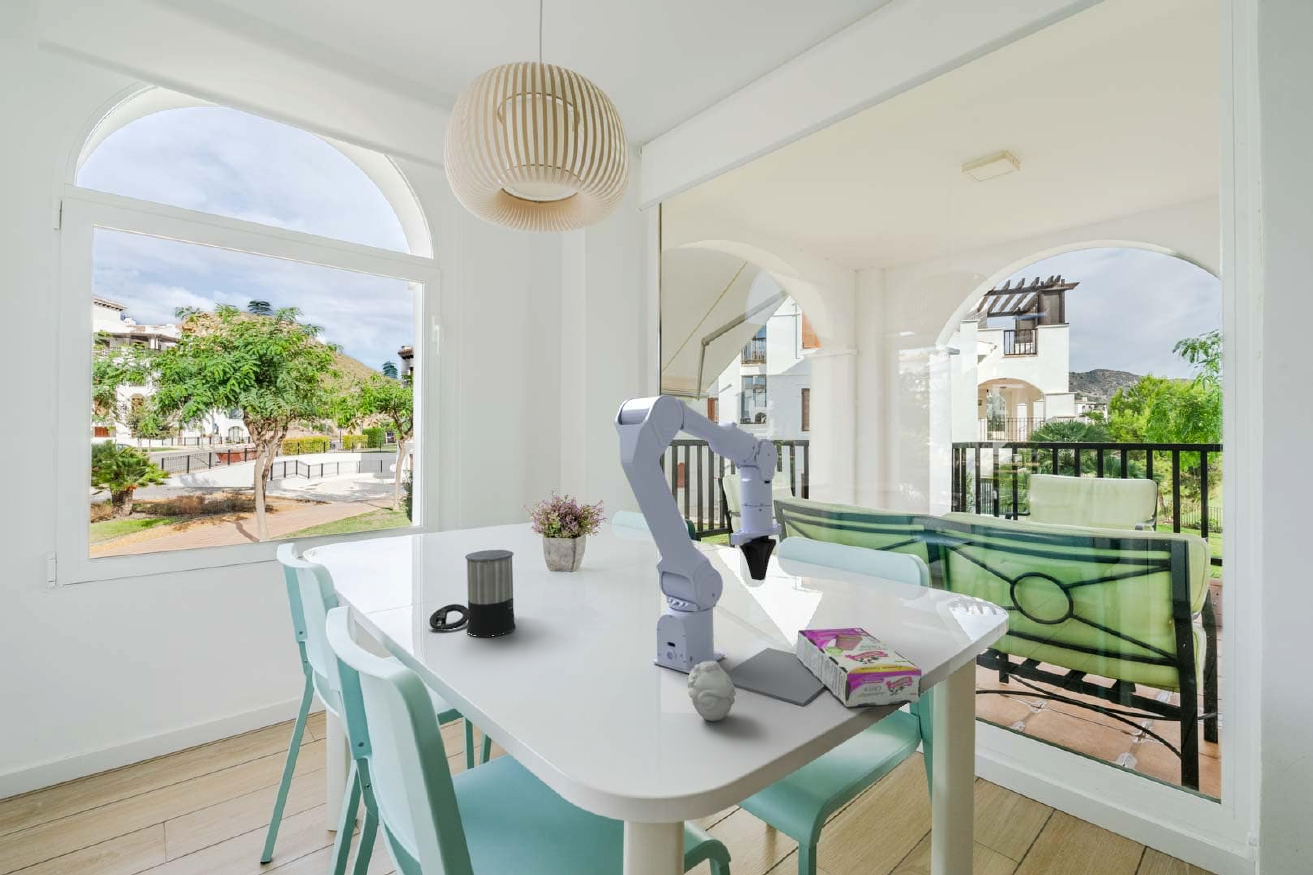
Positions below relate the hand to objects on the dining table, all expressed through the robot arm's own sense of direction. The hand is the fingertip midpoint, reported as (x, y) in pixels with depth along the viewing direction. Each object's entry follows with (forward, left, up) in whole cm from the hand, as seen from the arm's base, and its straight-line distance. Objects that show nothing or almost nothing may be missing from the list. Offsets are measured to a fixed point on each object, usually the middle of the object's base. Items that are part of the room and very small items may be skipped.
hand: (758, 579), depth 108 cm
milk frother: (-28, +48, -11) cm, 56 cm away
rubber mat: (-13, -12, -10) cm, 20 cm away
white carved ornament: (-31, -10, -11) cm, 35 cm away
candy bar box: (-4, -15, -7) cm, 17 cm away
